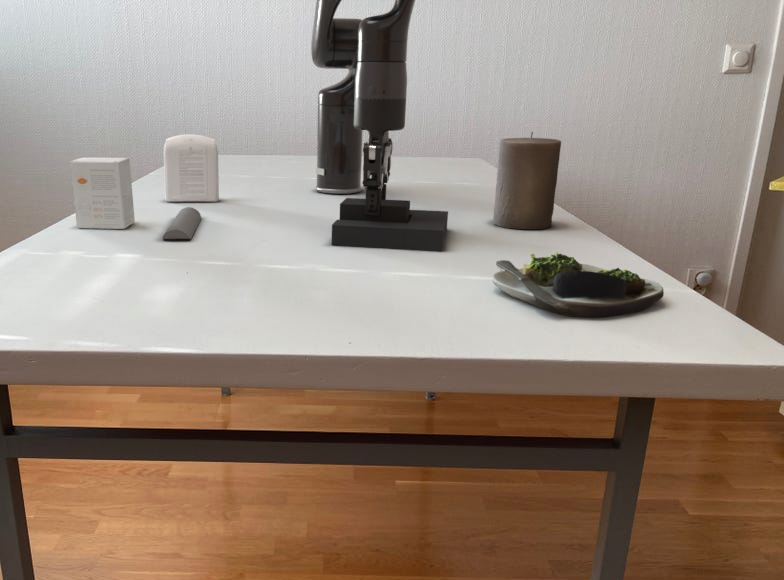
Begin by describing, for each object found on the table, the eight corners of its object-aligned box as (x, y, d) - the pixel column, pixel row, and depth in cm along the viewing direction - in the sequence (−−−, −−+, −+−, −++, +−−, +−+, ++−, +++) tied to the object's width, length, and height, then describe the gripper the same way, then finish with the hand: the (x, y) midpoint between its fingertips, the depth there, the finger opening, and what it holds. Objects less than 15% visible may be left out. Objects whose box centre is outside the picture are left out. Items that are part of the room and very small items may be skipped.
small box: (135, 223, 128) (131, 157, 124) (124, 229, 123) (119, 161, 119) (88, 221, 129) (82, 156, 125) (75, 228, 124) (69, 160, 120)
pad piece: (345, 216, 123) (346, 197, 122) (409, 219, 121) (410, 200, 120) (339, 223, 117) (339, 203, 116) (405, 227, 116) (406, 206, 114)
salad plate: (446, 282, 94) (449, 245, 93) (553, 266, 103) (557, 231, 101) (569, 327, 79) (575, 283, 77) (682, 303, 87) (690, 263, 85)
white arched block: (219, 198, 152) (217, 133, 148) (219, 202, 148) (217, 135, 144) (165, 199, 151) (162, 133, 146) (165, 203, 147) (161, 135, 143)
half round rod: (161, 241, 115) (160, 229, 114) (177, 217, 133) (176, 207, 133) (190, 241, 115) (189, 229, 115) (201, 217, 133) (201, 207, 133)
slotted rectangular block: (348, 225, 128) (349, 206, 127) (446, 229, 125) (448, 211, 124) (331, 245, 114) (331, 224, 113) (441, 251, 111) (443, 230, 110)
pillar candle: (564, 228, 128) (576, 133, 122) (514, 231, 124) (524, 134, 119) (527, 217, 136) (537, 128, 131) (480, 221, 133) (488, 129, 127)
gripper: (401, 97, 105) (395, 221, 111) (410, 94, 119) (404, 205, 125) (346, 96, 107) (343, 218, 113) (361, 93, 120) (358, 203, 126)
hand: (375, 211), depth 119 cm, fingers closed on pad piece, 6 cm apart
